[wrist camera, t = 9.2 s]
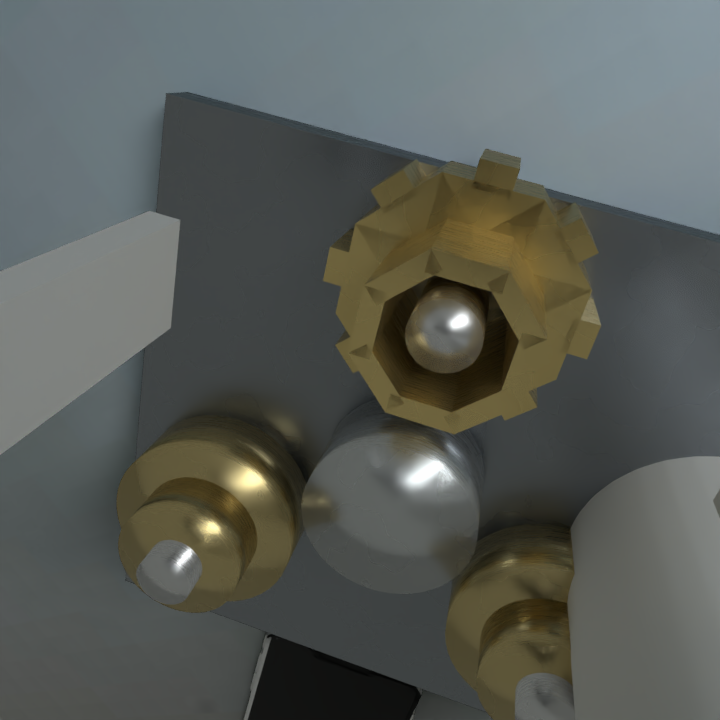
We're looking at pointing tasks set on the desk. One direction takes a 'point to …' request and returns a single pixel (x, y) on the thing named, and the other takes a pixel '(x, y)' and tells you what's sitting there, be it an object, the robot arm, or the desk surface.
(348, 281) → the gear
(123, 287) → the robot arm
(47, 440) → the desk surface
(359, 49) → the desk surface
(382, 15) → the desk surface
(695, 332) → the plate
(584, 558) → the cylinder container
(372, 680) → the smartphone
